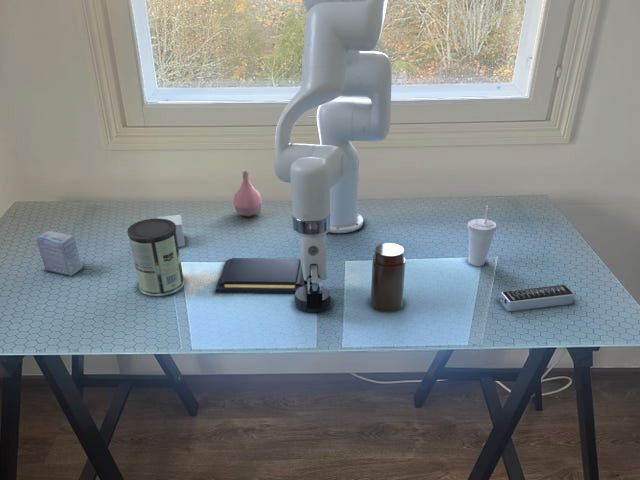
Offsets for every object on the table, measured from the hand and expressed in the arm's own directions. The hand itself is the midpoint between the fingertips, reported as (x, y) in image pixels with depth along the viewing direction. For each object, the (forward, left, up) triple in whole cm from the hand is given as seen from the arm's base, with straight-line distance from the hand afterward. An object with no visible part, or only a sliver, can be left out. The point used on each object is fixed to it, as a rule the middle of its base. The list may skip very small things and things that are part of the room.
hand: (312, 295), depth 138 cm
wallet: (-16, +3, -2) cm, 16 cm away
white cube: (-47, +4, -2) cm, 47 cm away
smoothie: (+21, +37, -2) cm, 42 cm away
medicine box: (-58, -21, -2) cm, 62 cm away
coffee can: (-33, -13, -2) cm, 35 cm away
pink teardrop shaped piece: (-42, +28, -2) cm, 50 cm away
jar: (+13, +8, -2) cm, 16 cm away
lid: (0, -1, 0) cm, 1 cm away
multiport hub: (+39, +27, -2) cm, 47 cm away
